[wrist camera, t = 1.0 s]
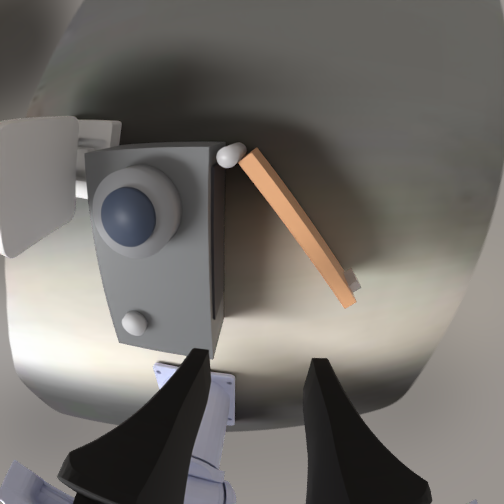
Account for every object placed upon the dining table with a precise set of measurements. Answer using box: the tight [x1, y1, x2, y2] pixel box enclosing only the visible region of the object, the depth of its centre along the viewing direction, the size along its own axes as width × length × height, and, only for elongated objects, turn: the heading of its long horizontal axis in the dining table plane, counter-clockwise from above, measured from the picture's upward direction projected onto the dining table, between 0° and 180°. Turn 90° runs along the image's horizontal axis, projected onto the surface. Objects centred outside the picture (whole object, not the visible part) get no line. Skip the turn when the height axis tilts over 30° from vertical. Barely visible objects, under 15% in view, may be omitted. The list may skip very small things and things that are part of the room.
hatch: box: [216, 142, 361, 308], centre depth 15 cm, size 11×2×4 cm, turn 37°
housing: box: [84, 142, 226, 359], centre depth 16 cm, size 13×7×6 cm, turn 177°
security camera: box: [0, 116, 122, 258], centre depth 12 cm, size 6×7×10 cm
